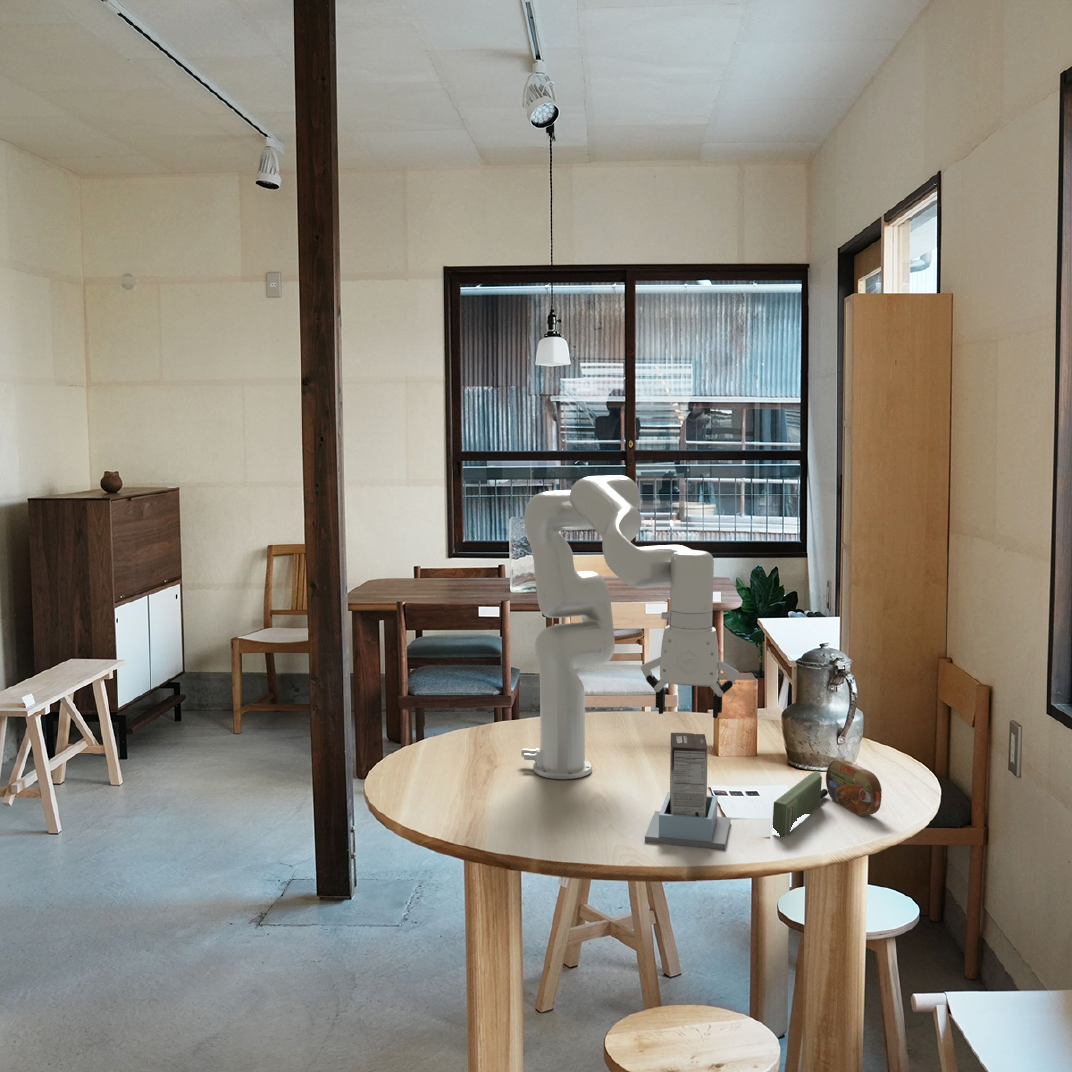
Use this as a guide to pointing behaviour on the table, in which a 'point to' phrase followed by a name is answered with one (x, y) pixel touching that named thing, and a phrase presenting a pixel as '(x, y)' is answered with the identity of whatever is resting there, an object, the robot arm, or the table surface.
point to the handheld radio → (798, 803)
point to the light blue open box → (689, 827)
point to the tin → (853, 787)
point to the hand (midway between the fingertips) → (688, 714)
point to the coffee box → (688, 774)
